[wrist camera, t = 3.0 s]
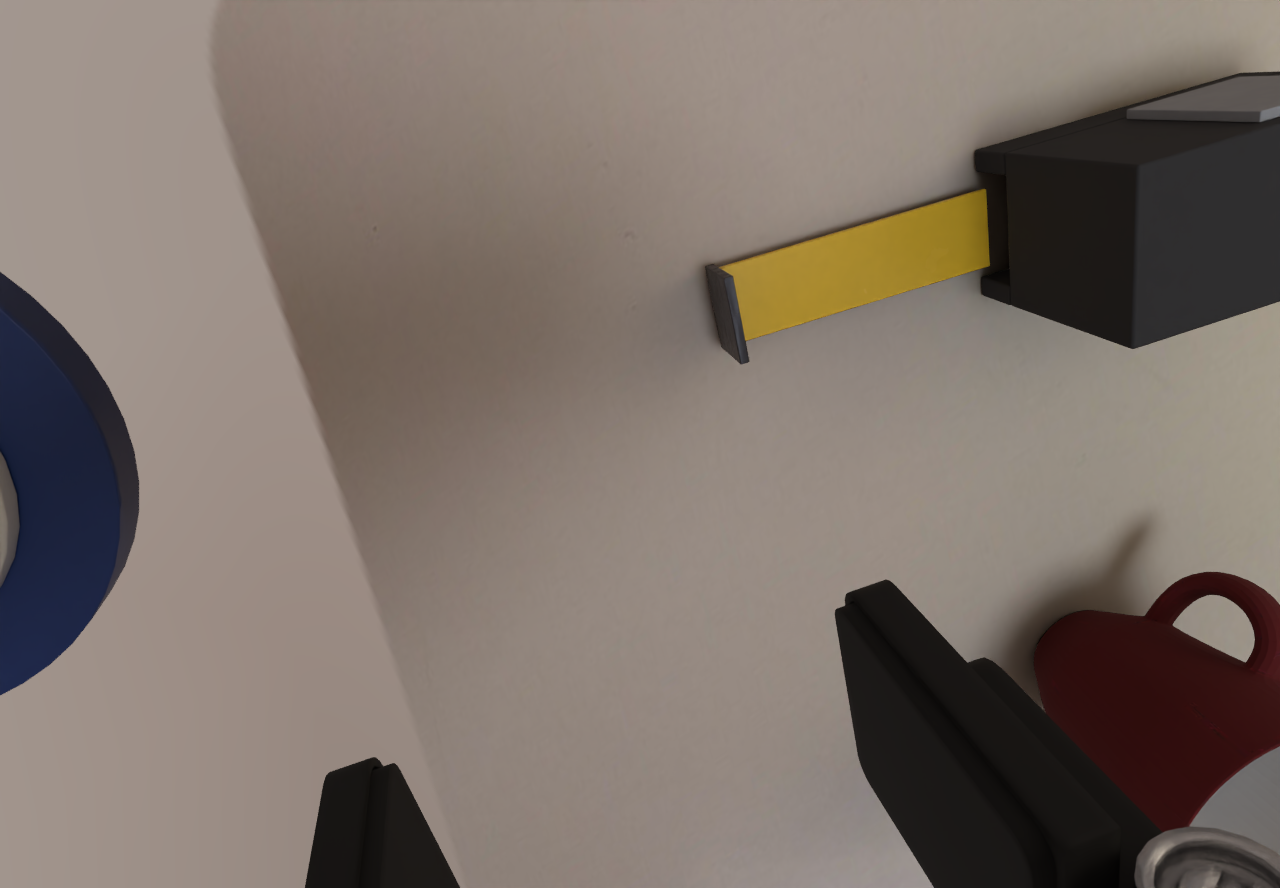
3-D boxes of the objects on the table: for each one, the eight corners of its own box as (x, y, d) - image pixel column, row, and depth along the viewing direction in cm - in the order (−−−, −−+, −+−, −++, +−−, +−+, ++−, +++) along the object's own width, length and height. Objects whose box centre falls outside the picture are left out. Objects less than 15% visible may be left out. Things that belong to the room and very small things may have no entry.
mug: (1052, 510, 33) (1278, 662, 24) (1203, 525, 35) (1461, 669, 26) (966, 717, 37) (1135, 917, 28) (1108, 719, 39) (1307, 905, 30)
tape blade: (720, 347, 27) (740, 364, 25) (704, 266, 26) (724, 278, 24) (983, 266, 28) (1020, 278, 26) (979, 184, 27) (1017, 190, 25)
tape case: (981, 302, 29) (1132, 358, 22) (973, 140, 26) (1138, 153, 20) (1228, 225, 30) (1439, 258, 23) (1241, 63, 27) (1479, 51, 21)
